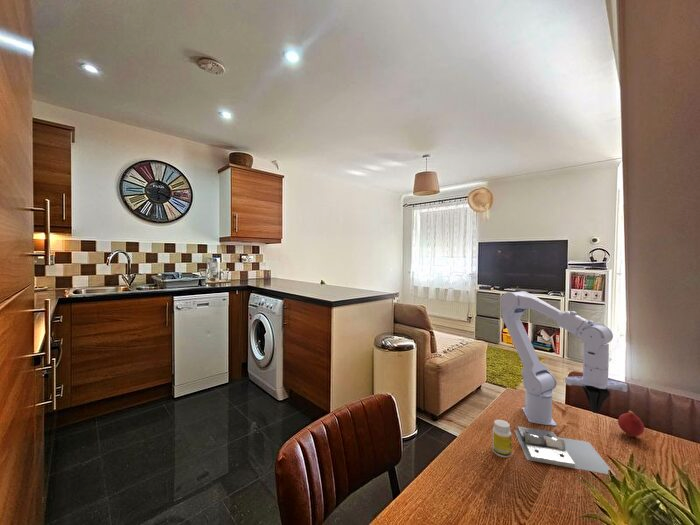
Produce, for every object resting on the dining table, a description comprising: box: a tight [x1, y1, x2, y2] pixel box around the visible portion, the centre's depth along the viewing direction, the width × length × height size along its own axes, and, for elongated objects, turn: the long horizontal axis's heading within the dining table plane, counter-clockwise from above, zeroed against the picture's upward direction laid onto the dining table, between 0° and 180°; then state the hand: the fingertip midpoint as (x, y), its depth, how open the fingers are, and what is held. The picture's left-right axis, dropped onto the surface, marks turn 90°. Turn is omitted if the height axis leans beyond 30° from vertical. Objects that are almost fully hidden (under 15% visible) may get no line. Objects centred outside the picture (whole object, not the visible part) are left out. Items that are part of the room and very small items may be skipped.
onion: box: [617, 410, 645, 438], centre depth 91 cm, size 6×6×8 cm
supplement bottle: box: [491, 419, 512, 458], centre depth 83 cm, size 5×5×8 cm
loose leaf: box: [526, 436, 576, 469], centre depth 82 cm, size 9×10×3 cm
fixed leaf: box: [516, 426, 558, 447], centre depth 88 cm, size 9×11×3 cm
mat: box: [513, 429, 617, 477], centre depth 84 cm, size 14×20×1 cm
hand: (594, 411), depth 87 cm, fingers closed
